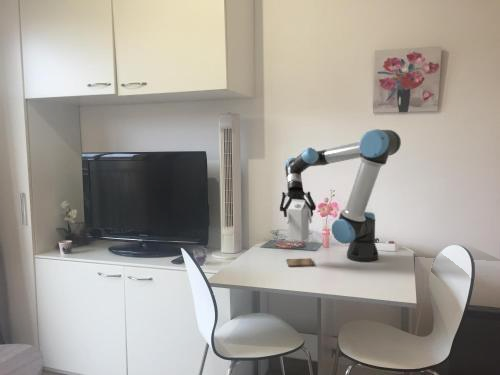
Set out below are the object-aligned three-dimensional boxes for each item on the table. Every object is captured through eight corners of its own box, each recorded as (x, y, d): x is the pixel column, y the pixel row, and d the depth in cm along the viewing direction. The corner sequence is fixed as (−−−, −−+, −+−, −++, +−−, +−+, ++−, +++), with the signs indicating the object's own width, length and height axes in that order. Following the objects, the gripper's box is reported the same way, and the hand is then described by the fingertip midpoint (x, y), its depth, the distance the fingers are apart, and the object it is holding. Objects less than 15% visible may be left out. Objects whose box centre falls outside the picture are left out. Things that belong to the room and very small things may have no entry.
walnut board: (310, 260, 205) (310, 258, 205) (314, 266, 195) (314, 264, 195) (286, 261, 205) (286, 259, 204) (288, 267, 195) (288, 265, 195)
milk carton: (295, 236, 204) (295, 198, 202) (308, 238, 200) (308, 199, 198) (288, 239, 198) (287, 200, 196) (301, 241, 194) (301, 201, 192)
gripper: (316, 188, 212) (322, 225, 198) (272, 190, 212) (275, 227, 198) (318, 179, 206) (324, 216, 192) (272, 180, 206) (275, 218, 192)
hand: (299, 221), depth 195 cm, fingers closed on milk carton, 10 cm apart
